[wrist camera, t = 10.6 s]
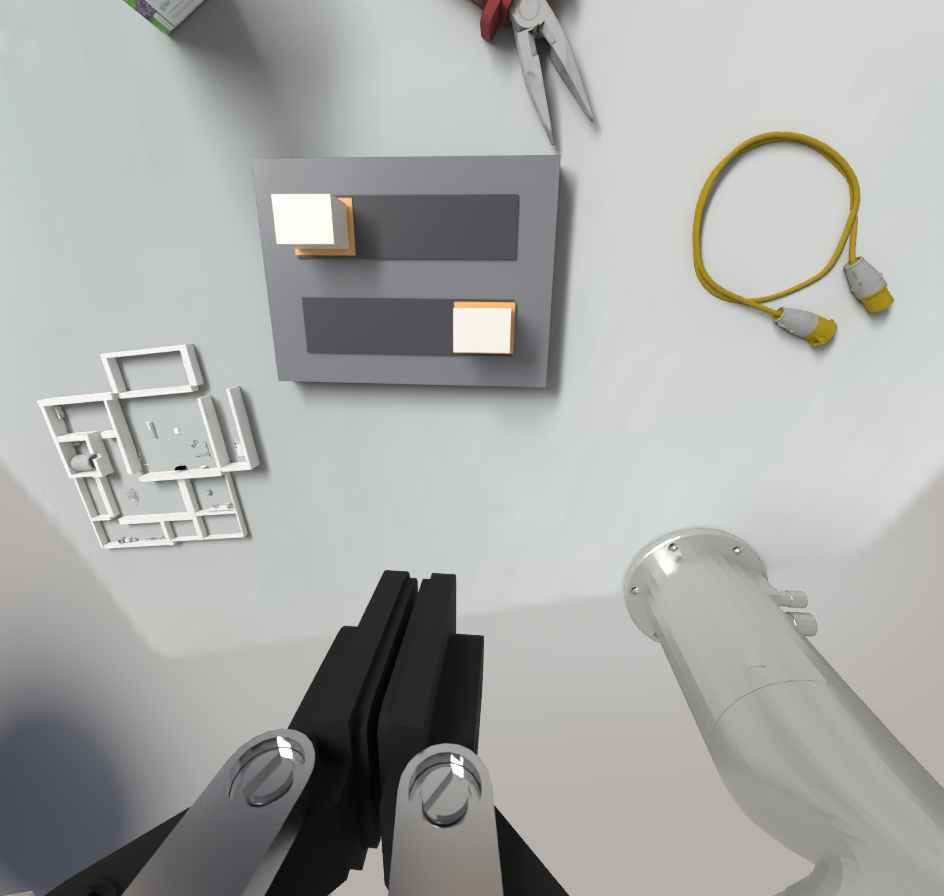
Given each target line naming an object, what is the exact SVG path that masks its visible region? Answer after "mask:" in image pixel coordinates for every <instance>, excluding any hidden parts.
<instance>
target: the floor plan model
mask: <svg viewBox="0 0 944 896" xmlns="http://www.w3.org/2000/svg"><path fill="white" fill-rule="evenodd" d="M178 350H180V353H181V356H182V359H183V363H184V366H185V369H186V373H187V376H188V379H189V383H190V385H185V386H175V387H165V388H155V389H145V390H135V391H127V390H126V387H125V384H124V381H123V378H122V375H121V372H120V369H119V367H118V364H117V361H116V358H115V357H122V356H132V355H141V354H150V353H159V352H169V351H178ZM100 356H101V359H102V362H103V364H104V367H105V370H106V373H107V376H108V379H109V381H110V384H111V387H112V390H113V392H107V393H97V394H87V395H76V396H66V397H56V398H48V399H44V400H39V401H37V402H38V404H39V407H40V408H41V410H42V413H43V415H44V418H45V420H46V423H47V425H48V428H49V430H50V433H51V435H52V437H53V440H54V442H55V445H56V447H57V450H58V452H59V455H60V457H61V459H62V462H63V464H64V467H65V469H66V472H67V474H68V477H69V478H73V479H74V481H75V484H76V486H77V489H78V491H79V494H80V496H81V499H82V501H83V503H84V506H85V508H86V511H87V513H88V516H89V518H90V521H91V523H92V526H93V528H94V531H95V533H96V536H97V538H98V541H99V543H100V545H101V548H102V549H104V548H121V547H142V546H159V545H174V544H176V543H177V542H178V541H190V540H207V539H224V538H241V537H245V536H246V535H247V534H248V532H247V528H246V525H245V521H244V518H243V515H242V511H241V508H240V505H239V501H238V498H237V495H236V491H235V488H234V484H233V481H232V477H231V474H230V471H240V470H252V469H253V468H255V467H256V466H258V465H259V464H260V462H259V459H258V455H257V451H256V447H255V443H254V440H253V436H252V432H251V428H250V425H249V421H248V417H247V413H246V410H245V406H244V402H243V398H242V395H241V391H240V387H239V386H235V387H232V388H229V389H226V391H227V394H228V398H229V401H230V405H231V409H232V412H233V416H234V419H235V423H236V427H237V430H238V434H239V438H240V439H236V440H235V443H234V444H236V448H237V453H238V456H245V459H246V462H235V463H230V460H229V457H228V453H227V450H226V446H225V443H224V439H223V436H222V432H221V429H220V425H219V422H218V418H217V415H216V411H215V408H214V405H213V401H212V398H211V395H207V396H204V397H201V398H198V399H197V400H198V403H199V406H200V410H201V413H202V417H203V420H204V423H205V427H206V430H207V433H208V437H209V440H210V443H211V447H212V450H213V454H214V457H215V460H216V464H217V467H216V468H204V469H191V470H184V469H185V468H186V466H178V467H176V468H175V471H165V472H152V473H147V474H145V475H143V476H141V477H139V480H140V482H147V481H160V480H174V479H177V482H178V485H179V488H180V491H181V494H182V497H183V500H184V503H185V506H186V509H187V512H180V513H165V514H150V515H135V516H123V517H121V518H120V519H118V520H119V523H120V525H122V524H138V523H153V522H160V523H161V526H162V529H163V532H164V535H165V536H163V537H164V538H163V537H162V536H160V537H145V540H138V539H137V538H133V539H132V537H127V538H126V537H122V538H120V539H118V542H108V540H107V538H106V535H105V532H104V530H103V527H102V525H101V522H100V521H102V520H112V519H113V518H115V517H116V516H117V515H119V514H120V512H119V509H118V507H117V504H116V502H115V499H114V496H113V494H112V491H111V488H110V486H109V483H108V481H107V478H106V475H108V474H111V473H113V472H114V470H113V468H112V465H111V462H110V460H109V457H108V454H107V451H106V448H105V446H104V443H103V440H102V439H103V438H114V437H116V439H117V442H118V445H119V448H120V451H121V454H122V457H123V460H124V463H125V466H126V469H127V472H128V475H130V474H135V473H137V472H139V471H141V470H143V468H142V466H141V463H140V460H141V457H138V454H139V456H140V453H139V452H138V454H137V451H136V449H135V446H134V443H133V440H132V437H131V434H130V431H129V428H128V426H127V423H126V420H125V417H124V415H123V412H122V409H121V406H120V403H119V400H118V398H120V399H123V398H133V397H143V396H153V395H164V394H174V393H184V392H193V391H197V390H199V387H198V385H201V384H204V381H203V378H202V374H201V371H200V367H199V364H198V360H197V357H196V353H195V350H194V346H193V344H187V345H178V346H169V347H160V348H151V349H142V350H132V351H123V352H114V353H105V354H100ZM205 390H206V389H205ZM93 401H104V404H105V407H106V410H107V413H108V415H109V418H110V421H111V424H112V427H113V430H110V431H104V432H101V433H100V432H99V431H91V432H78V433H68V431H67V428H66V426H65V423H64V421H63V418H64V417H65V415H64V413H63V411H62V409H61V406H58V405H62V404H72V403H82V402H93ZM146 423H147V425H148V428H149V430H151V432H152V434H153V437H154V438H156V437H157V436H156V433H155V430H154V427H153V424H152V422H146ZM173 429H174V432H175V434H180V433H179V429H178V428H173ZM100 434H101V435H100ZM101 437H102V438H101ZM72 441H74V442H72ZM79 441H86V444H87V447H88V449H89V452H90V454H79V455H77V453H76V451H75V448H74V446H77V445H80V444H79ZM193 442H194V444H192V445H191V447H195V444H196V443H198V441H197V440H194V441H193ZM203 444H204V446H205V450H206V452H207V453H206V454H205V453H201V454H199V453H197V454H196V457H199V456H205V455H207V456H209V455H210V453H209V452H208V448H207V446H206V444H207V443H206V442H203ZM95 453H97V455H98V458H95V459H92V460H93V462H94V465H95V468H93V467H92V466H91V465H90V462H89V460H90V458H91V456H93V455H96V454H95ZM139 458H140V460H139ZM144 465H146V464H144ZM147 465H149V464H147ZM201 467H206V466H200V467H199V468H201ZM177 470H178V471H177ZM222 475H225V478H226V482H227V485H228V486H227V487H228V490H229V494H230V497H231V500H232V504H231V503H222V504H221V505H212V507H211V508H210V509H207V510H200V509H199V506H198V503H197V500H196V497H195V494H194V490H193V487H192V484H191V481H190V478H200V477H214V476H222ZM90 476H92V477H93V478H95V481H96V483H97V486H98V488H99V491H100V494H101V496H102V499H103V501H104V504H105V506H106V509H107V511H108V515H98V514H97V512H96V509H95V507H94V504H93V502H92V499H91V497H90V494H89V492H88V489H87V487H86V484H85V482H84V479H83V477H90ZM131 490H132V489H131ZM129 492H130V495H131V498H132V500H133V502H138V500H137V497H136V495H135V491H129ZM137 494H138V493H137ZM207 494H208V495H212V491H211V490H210V491H209V490H207ZM127 495H128V493H127ZM128 498H129V497H128ZM139 500H140V499H139ZM135 505H136V504H135ZM234 513H236V516H237V519H238V523H239V526H240V530H241V533H236V534H219V535H207V532H206V528H205V525H204V522H203V519H202V516H203V515H218V514H234ZM177 520H193V523H194V526H195V529H196V532H197V535H198V536H186V537H175V536H174V533H173V530H172V527H171V524H170V521H172V522H173V521H177ZM173 526H174V524H173ZM165 537H166V538H165ZM137 540H138V541H137Z"/></svg>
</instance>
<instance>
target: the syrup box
mask: <svg viewBox="0 0 944 896" xmlns="http://www.w3.org/2000/svg"><path fill="white" fill-rule="evenodd" d="M123 1H125V2H126V3H127V4H128V5H130V6H131V7H132V8H133V9H135V10H136V11H137V12H138V13H140V14H141V15H142V16H143V17H144V18H146V19H147V20H148V21H149V22H151V23H152V24H153V25H154V26H156V27H157V28H158V29H159V30H160V31H161V32H163V33H164V34H169V33H170V32H171V31H172V30H173V29H174V28H175V27H176V26H177V25H179V24H180V23H181V22H182V21H183V20H184V19H185V18H186V17H187V16H188V15H189V14H190V13H191V12H192V11H193V10H194V9H195V8H196V7H197V6H199V5H200V4H201V3H202V2H203V1H204V0H123Z"/></svg>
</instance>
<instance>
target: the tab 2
mask: <svg viewBox="0 0 944 896" xmlns="http://www.w3.org/2000/svg"><path fill="white" fill-rule="evenodd" d="M510 331H511V308H470V307H456V308H453V352H478V353H510Z"/></svg>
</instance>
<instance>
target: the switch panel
mask: <svg viewBox="0 0 944 896" xmlns="http://www.w3.org/2000/svg"><path fill="white" fill-rule="evenodd" d="M560 158H561V155H522V156H433V157H345V158H256V159H251V164H252V172H253V180H254V188H255V196H256V204H257V212H258V220H259V228H260V236H261V244H262V252H263V260H264V268H265V276H266V284H267V292H268V300H269V308H270V316H271V324H272V332H273V340H274V348H275V356H276V364H277V372H278V380H279V381H305V382H345V383H386V384H426V385H466V386H507V387H546V378H547V363H548V347H549V331H550V315H551V300H552V284H553V268H554V252H555V237H556V221H557V205H558V189H559V173H560ZM271 194H331V195H333V196H334V197H336V198H338V199H339V200H341V201H343V202H344V203H346V211H347V225H348V240H349V249H295V248H291V247H287V246H283V245H279V244H277V242H276V233H275V224H274V216H273V207H272V198H271ZM456 307H470V308H511V331H510V353H478V352H453V308H456Z"/></svg>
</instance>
